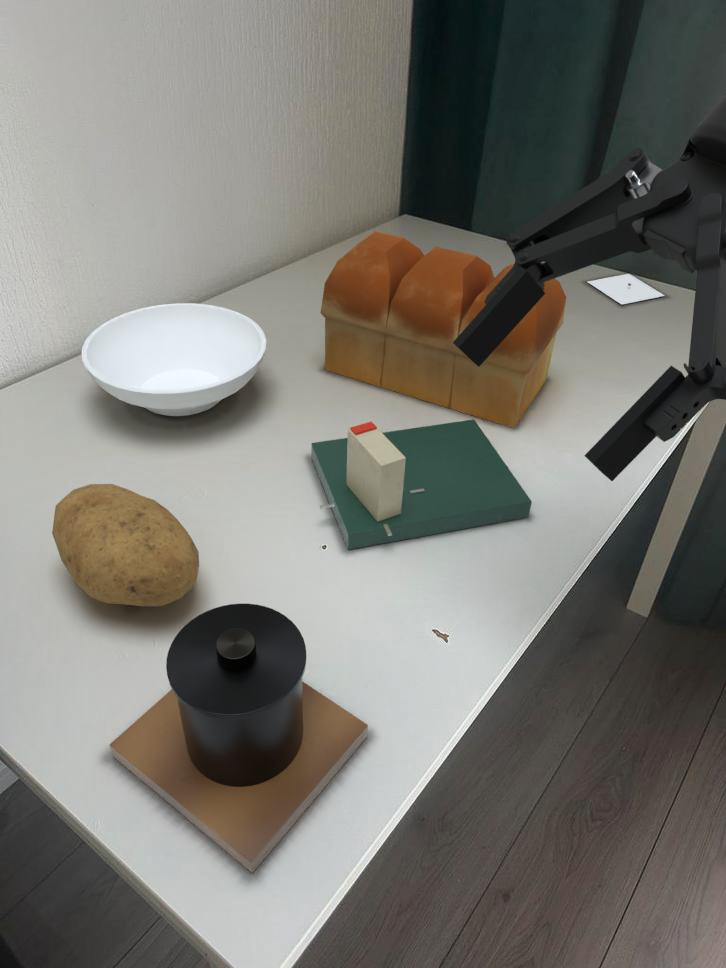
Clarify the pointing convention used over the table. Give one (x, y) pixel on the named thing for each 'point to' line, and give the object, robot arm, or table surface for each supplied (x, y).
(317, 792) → the board
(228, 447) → the table surface
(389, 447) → the cream juice carton
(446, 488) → the green rectangular slab
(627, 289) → the coaster
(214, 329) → the bowl
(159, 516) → the potato
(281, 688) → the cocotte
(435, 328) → the bread
